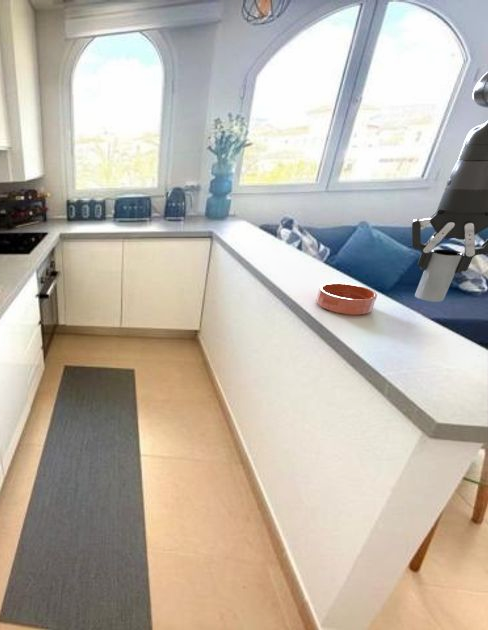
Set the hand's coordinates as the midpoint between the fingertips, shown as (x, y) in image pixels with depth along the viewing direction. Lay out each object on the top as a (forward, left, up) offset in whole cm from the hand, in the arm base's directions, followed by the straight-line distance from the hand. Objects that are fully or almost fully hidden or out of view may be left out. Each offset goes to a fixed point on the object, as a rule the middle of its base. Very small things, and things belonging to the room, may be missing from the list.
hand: (439, 270), depth 72 cm
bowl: (+14, -19, -20) cm, 31 cm away
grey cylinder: (0, 0, -7) cm, 7 cm away
